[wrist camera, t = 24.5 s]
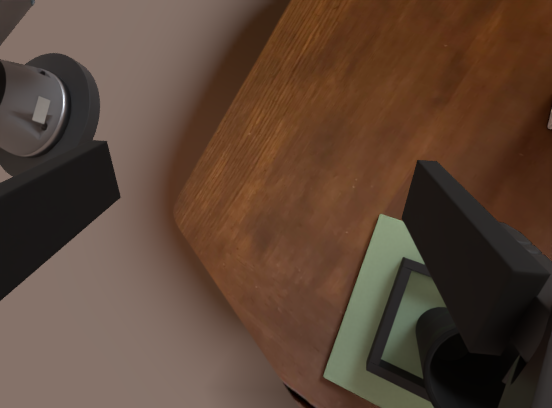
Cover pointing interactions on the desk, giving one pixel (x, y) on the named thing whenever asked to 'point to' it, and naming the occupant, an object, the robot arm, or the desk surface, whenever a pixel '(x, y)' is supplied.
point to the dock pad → (385, 322)
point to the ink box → (550, 121)
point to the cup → (458, 365)
